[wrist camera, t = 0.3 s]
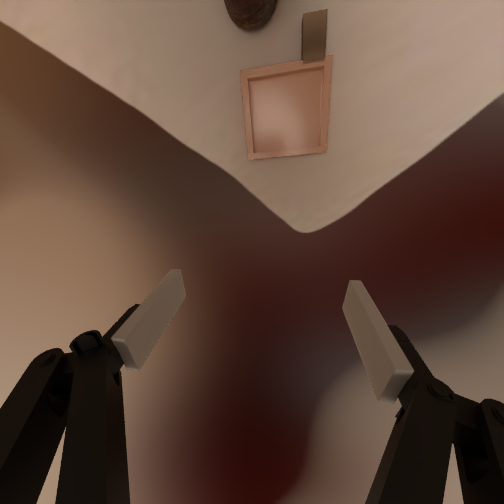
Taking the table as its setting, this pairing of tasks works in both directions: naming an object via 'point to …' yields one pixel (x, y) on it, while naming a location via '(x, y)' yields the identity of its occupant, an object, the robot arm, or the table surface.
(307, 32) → the matchbox
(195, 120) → the table surface
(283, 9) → the table surface
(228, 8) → the dark brown tall piece
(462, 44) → the table surface
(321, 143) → the dish
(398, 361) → the robot arm
